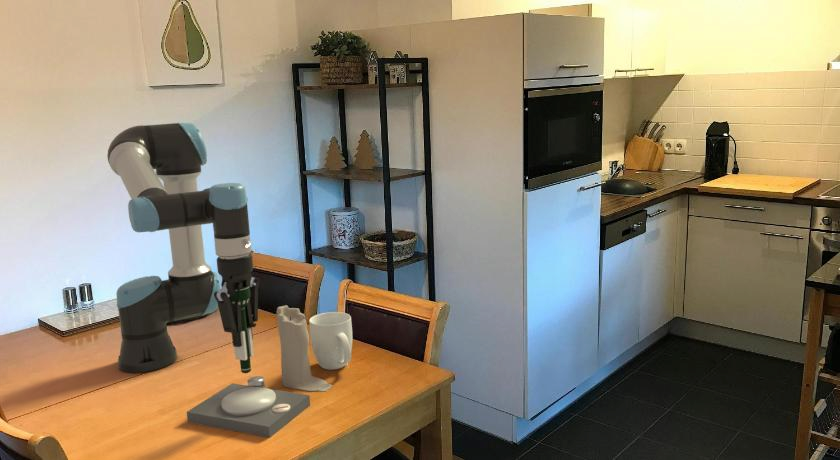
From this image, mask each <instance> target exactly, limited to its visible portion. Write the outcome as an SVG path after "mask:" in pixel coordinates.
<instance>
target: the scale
mask: <svg viewBox="0 0 840 460" xmlns="http://www.w3.org/2000/svg"><path fill="white" fill-rule="evenodd" d="M310 396H311V395H310V394H306V393H305V394H304V393H300V392H292V391H285V390H279V389H271V388H267V387H265V388H263V387H254V386H248V384H247V385H245V384H240V383H233V382H231V383H230V384H229V385H227V386H225V387H224V388H222V389H221V390H219V391H218V392H216V393H215V394H213V395H211V396H210V397H208V398H206V399H205V400H204V401H201V402H200V403H199V404H197V405H196V406H193V407H192V408H191V409H189V410H187V411H186V418H187V423H190V424H194V425H195V424H196V425H200V426H206V427H211V428H216V429H222V430H225V431H226V430H228V431H233V432H239V433H244V434H249V435H255V436H259V437H265V438H270V439H271V437H272V436H274V435H275V434H277V432H279V431H280V430H281V429H282V428H284V427H285V426H286V425H288V423H290V422H291V421H293V419H295V418H296V417H297V416H299V415H300V414H301V413H302V412H304V411H305V410H306V409H307V408H308V407H310V406H311V399H310V398H311V397H310Z"/></svg>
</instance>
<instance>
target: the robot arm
mask: <svg viewBox="0 0 840 460" xmlns="http://www.w3.org/2000/svg"><path fill="white" fill-rule="evenodd" d="M207 153H208V152H207V148H206V144H205V140H204V137H203V135H202V132H201V131H200V129H199V127H198V126H197V125H196V124H194V123H190V122H173V123H164V124H147V125H143V124H142V125H134V126H131V127H129V128H126V129H124V130H122V131H121V132H120V133H118V134H117V135H116V136H115V137H114V138H113V140H112V141H111V142H110V144H109V147H108V149H107V155H106V156H107V162H108V164H109V167H110V169H111V170H112V172H114V174H116V175H118V176H119V177H120V179H121V181H122V183H123V185H124V187H125V189H126V191H127V193H128V195H129V197H130V200H128V201H129V202H128V205H127V208H128V209H127V210H128V218H129V222H130V226H131V228H132V230H133V231H134V232H136V233H146V232H147V233H148V232H149V233H155V232H157V231H164V230H168V233H169V235H168V237H169V243H170V252H171V260H172V261H171V262H172V266H171V268H170V269H169V270H168V271H167V275H168V279H164V280H162V278H161V277H160V276H158V275H150V276H142V277H138V278H135V279H132V280H129V281H127V282H125V283H123V284H122V285H120V286H119V287H118V288H117V290H116V307H117V310H118V311H117V312H118V317H119V318H118V319H119V324H120V325H119V326H120V334H121V344H120V350H119V351H120V352H119V355H118V358H117V363H118V369H119V370H120V371H121V372H123V373H124V372H125V373H131V374H139V373H140V374H141V373H148V372H153V371H157V370H161V369H163V368H165V367H169V366H170V365H172V364H173V363H174V362H176V360H178V354H177V353H178V352H177V349H176V347H175V346H174V343H173V341H172V338H171V336H170V335H169V332H168V327H167V326H168V325H167V324H168V323H167V322H171V321H176V320H181V319H186V318H191V317H196V316H202V317H204V316H206V315H208V314H212V313H214V312H216V310H219V311H218V312H219V313H220V314H219V315H220V320H221V323H222V328H223V331H224V333H229V334H230V333H231V339H232V346H233V348H234V357H235V360H239V361H240V360H247V349H246V339H245V331H242V322H241V306H240V305H239V304H238V303H239V302H240V299H239V291H240V289H241V288H244V287H247V286H248V285H249V287H250V299H249V301H248V303H247V305H246V306H245V314H246V324H247V334H248V344H249V354H250V358H252V357H254V356H255V355H254V346H253V344H254V343H253V338H254V336H253V328H256V325H257V322H258V319H259V290H258V289H259V285H260V278H259V277H253V276H252V271H253V270H254V261H253V255H252V254H251V252H252V245H251V235H250V234H251V233H250V220H249V211H248V210H249V209H248V197H247V192H246V191H247V190H246V187H245V185H244V184H243V183H240V182H237V183H235V182H226V183H219V184H214V185H212V186H210V187H209V188H205V189H203V190H198V183H197V181H198V180H197V178H198V177H199V176H200V175H201V174H202V167H203V166H205V165H206V164H207V162H208V159H207V157H208V154H207ZM161 180H162V181H161ZM162 182H163V183H162ZM209 224H212V227H213V229H212V230H213V238H214V239H213V240H214V241H213V242H214V249H215V255H216V256H218V257H217V258H216V265H217V266H216V267H217V272H215V271H213V270H212V267H211V266H210V265H209V264H208V263H207V262H206V259H205V249H204V238H203V229H202V225H209ZM218 274H219V275H218ZM219 276H221V283H220V278H219ZM235 289H238V290H237V291H238V299H237V301H236V302H235V303H231V302H230V299H229V296H235ZM205 314H206V315H205ZM203 315H204V316H203Z"/></svg>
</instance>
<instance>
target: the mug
mask: <svg viewBox="0 0 840 460" xmlns="http://www.w3.org/2000/svg"><path fill="white" fill-rule="evenodd" d="M308 320H309V338H310V343H311V350H312V351H313V356H314V358H315V360H316V362H317V364H318V365H319V366H320V367H321V368H322V369H324V370H329V371H331V370H334V371H335V370H339V369H342V368H344V367H346V365H347V364H349V363H350V362H351V360H352V349H353V327H352V326H353V324H352V316H351V315H350V314H349V313H346V312H341V311H329V312H323V313H318V314H315V315H313V316H312V317H310V318H309V319H308Z"/></svg>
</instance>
